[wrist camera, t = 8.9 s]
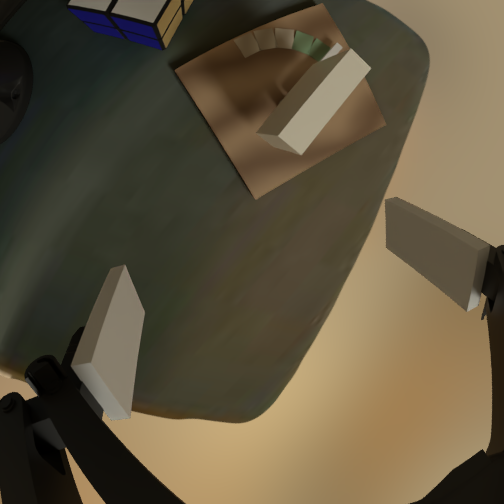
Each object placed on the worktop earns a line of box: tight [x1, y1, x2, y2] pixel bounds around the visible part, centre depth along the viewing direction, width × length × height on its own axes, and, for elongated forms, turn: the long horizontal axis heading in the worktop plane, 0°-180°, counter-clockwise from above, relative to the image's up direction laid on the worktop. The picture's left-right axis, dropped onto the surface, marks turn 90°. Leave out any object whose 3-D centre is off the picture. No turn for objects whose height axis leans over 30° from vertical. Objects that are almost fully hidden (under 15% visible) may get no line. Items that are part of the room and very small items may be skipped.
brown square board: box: [175, 3, 386, 200], centre depth 33 cm, size 18×20×2 cm
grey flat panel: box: [256, 43, 371, 155], centre depth 27 cm, size 15×2×12 cm, turn 142°
